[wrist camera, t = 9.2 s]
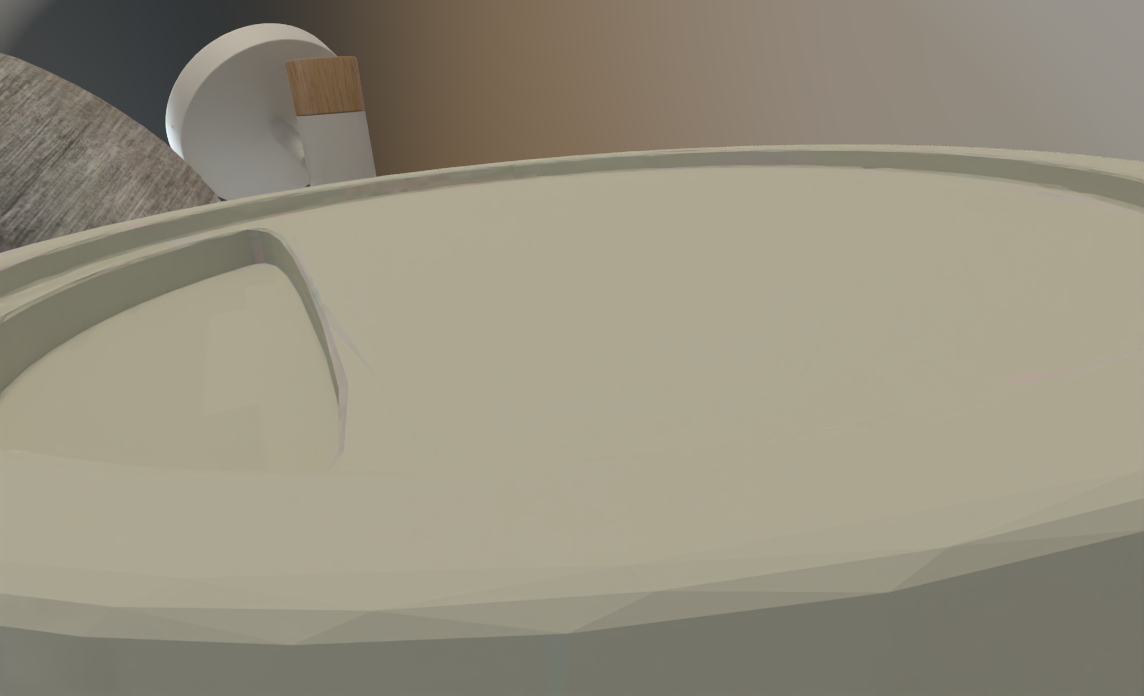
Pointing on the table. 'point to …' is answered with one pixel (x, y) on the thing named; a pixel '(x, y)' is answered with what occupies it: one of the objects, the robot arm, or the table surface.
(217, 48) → the light fixture
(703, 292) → the coffee cup
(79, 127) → the grey round piece
